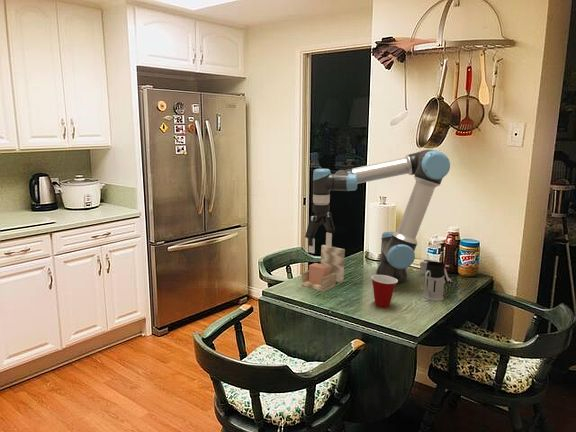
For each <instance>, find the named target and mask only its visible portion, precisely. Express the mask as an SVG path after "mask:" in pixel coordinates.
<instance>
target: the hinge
mask: <svg viewBox="0 0 576 432" xmlns="http://www.w3.org/2000/svg"><path fill="white" fill-rule="evenodd" d="M431 261H435V262H437V261H436V260H435V259H434V260H433V259H430V258H427V259H423V261H422V260H421V262H419V266H420V273H421V274H422V275H424V276H425V274H426V268H427V262H431ZM444 275H445V276H444V284H446V282H449V281H450V282H449V283H452V279H451V278H449V276H448V275H449V274H448V272H447V269H446V268H445V271H444Z"/></svg>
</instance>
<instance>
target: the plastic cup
mask: <svg viewBox="0 0 576 432" xmlns="http://www.w3.org/2000/svg"><path fill="white" fill-rule="evenodd" d="M370 279H371V281H372V288H373V289H372V291H373V297H374V304H375V307H377V308H380V309H387V308H389V307H390V306H391V301H392V299H393V295H394V290H395V287H396V284H398V283H397V282H398V280H397V279H395V278H393V277H390V276H386V275H376V274H374V275H373V274H372V275H371V278H370Z"/></svg>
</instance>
